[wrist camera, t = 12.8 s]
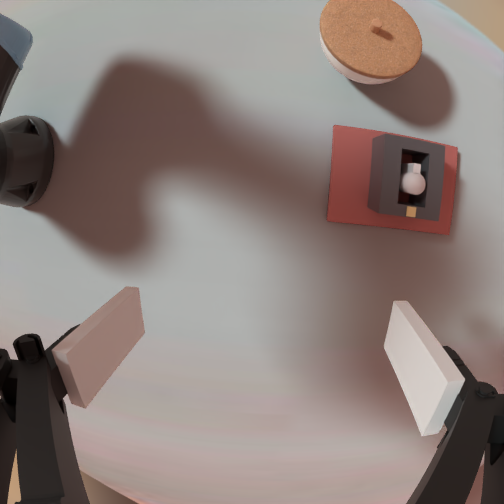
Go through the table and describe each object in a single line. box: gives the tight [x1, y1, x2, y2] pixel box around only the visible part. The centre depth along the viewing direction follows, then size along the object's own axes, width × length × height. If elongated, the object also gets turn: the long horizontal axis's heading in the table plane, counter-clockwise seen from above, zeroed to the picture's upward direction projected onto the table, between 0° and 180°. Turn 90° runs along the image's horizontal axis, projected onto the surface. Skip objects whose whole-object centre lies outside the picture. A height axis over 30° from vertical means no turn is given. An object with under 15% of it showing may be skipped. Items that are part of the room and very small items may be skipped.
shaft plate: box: [327, 125, 458, 235], centre depth 30 cm, size 16×11×7 cm
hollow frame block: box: [367, 133, 445, 221], centre depth 29 cm, size 8×7×5 cm
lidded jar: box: [320, 0, 422, 84], centre depth 25 cm, size 11×11×9 cm
